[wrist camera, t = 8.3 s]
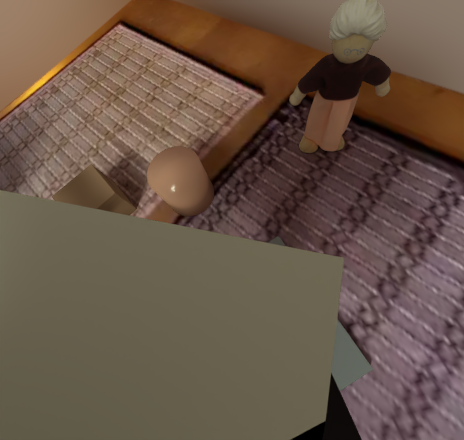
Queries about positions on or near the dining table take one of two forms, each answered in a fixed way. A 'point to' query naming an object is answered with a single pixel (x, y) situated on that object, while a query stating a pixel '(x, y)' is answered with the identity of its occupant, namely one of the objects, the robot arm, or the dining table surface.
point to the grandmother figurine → (343, 74)
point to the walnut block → (95, 193)
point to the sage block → (158, 329)
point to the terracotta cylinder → (181, 181)
